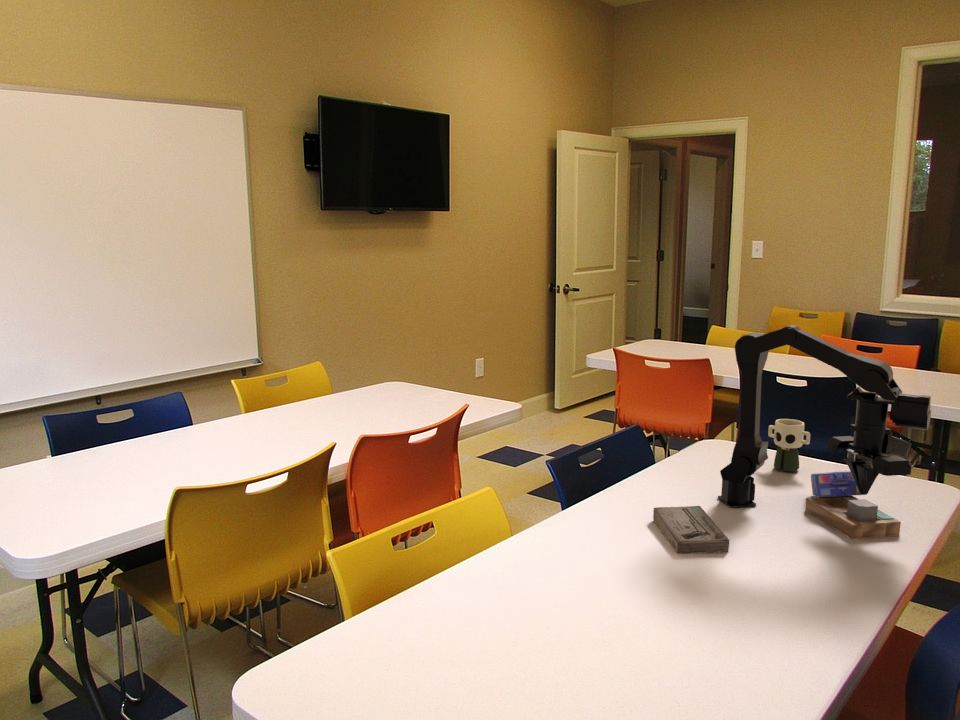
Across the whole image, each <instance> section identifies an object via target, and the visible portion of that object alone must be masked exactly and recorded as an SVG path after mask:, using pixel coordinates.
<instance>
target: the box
mask: <svg viewBox="0 0 960 720" xmlns="http://www.w3.org/2000/svg"><path fill="white" fill-rule="evenodd" d="M652 517H653V519H652V520H653V521H654V523H655V524H656V526H657V527H658V529H659V530H660V532H662V533H661V534H662V535H663V536H664V537H665V540H667V542H668V544H669V545H670V546H671V548H672V549H673V550H674V552H675V553H676V554H677V555H678V554H679V555H680V554H683V555H687V554H688V555H689V554H714V553H715V554H716V553H724V554H725V553H729V549H730V538H728V536H727V535H726V534H725V533H724V532H723V531H722V530H721V528H720V527H719V526H718V525H717V524H716V522H715V521H714V520H712V518H711V517H710V516H709V515H708V513H706V511H705V510H704V509H703V508H702V507H701V505H693V506H687V505H686V506H669V507H668V506H665V507H664V506H661V507H660V506H659V507H653V515H652Z"/></svg>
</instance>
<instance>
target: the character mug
mask: <svg viewBox="0 0 960 720" xmlns="http://www.w3.org/2000/svg"><path fill="white" fill-rule="evenodd" d="M773 430H774V432H773ZM767 434H768V437H770V438H771V439H772V438H773V442H774V444H775V445H776V446H777V447H778V448H777V449H776V452H775V456H774V461H773V468H775V469H777V470H779V471H780V470H781V469H782V468H783V470H782V471H783V472H796V471H797V470H799V469H800V455H799V450H798V448H801V447H802V446H803V445H810V443H811V433H810V432H809V431H805V422H804V421H801V420H799V419H792V418H791V419H790V418H779V419H776V420H775V422H774V424H773V425H772V424H770V425H768V431H767ZM805 436H806V438H805V439H804V437H805Z"/></svg>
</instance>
